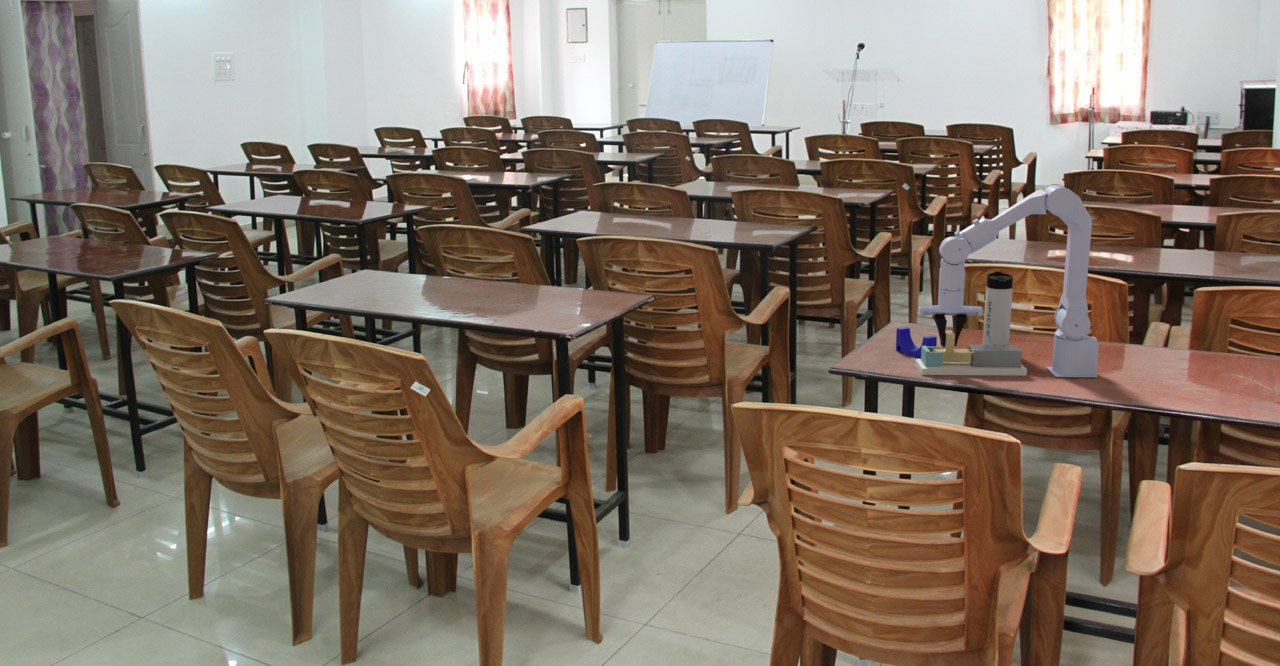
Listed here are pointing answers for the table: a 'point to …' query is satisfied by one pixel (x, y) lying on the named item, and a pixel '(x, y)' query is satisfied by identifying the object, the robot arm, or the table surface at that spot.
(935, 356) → the socket
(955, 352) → the slide bar
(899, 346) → the blue curved bracket
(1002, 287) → the travel mug
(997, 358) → the sleeve
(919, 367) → the base board
